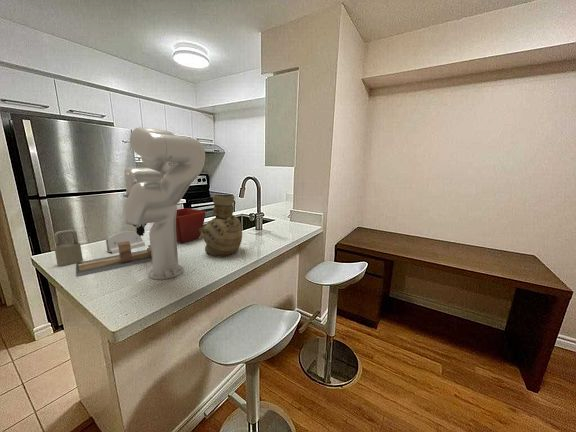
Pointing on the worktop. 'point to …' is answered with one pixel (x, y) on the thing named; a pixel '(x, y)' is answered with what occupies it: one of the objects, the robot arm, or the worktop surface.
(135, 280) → the worktop surface
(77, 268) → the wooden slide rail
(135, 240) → the hinge
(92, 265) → the rail
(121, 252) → the slider leg
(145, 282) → the worktop surface
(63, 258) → the padlock
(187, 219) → the plant pot
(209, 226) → the ceramic vessel
